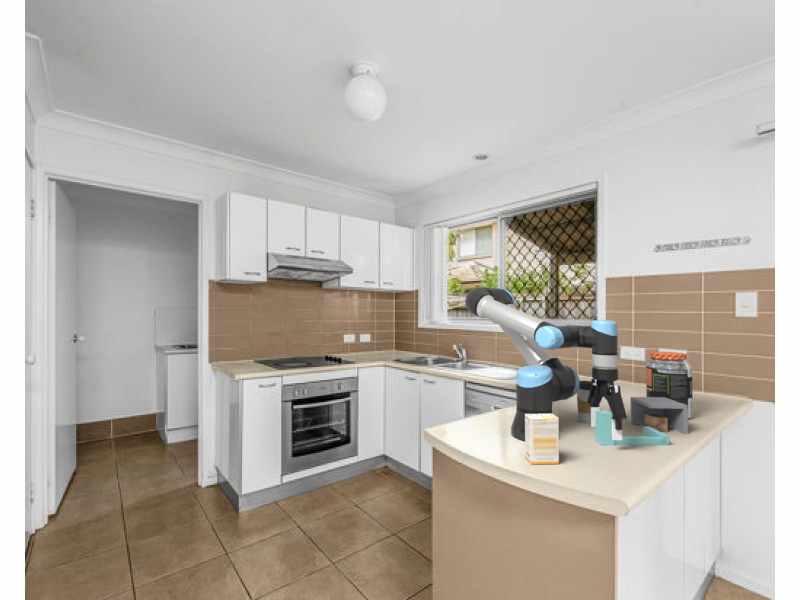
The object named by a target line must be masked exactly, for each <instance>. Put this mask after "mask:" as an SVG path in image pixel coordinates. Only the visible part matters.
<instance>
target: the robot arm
mask: <svg viewBox="0 0 800 600" xmlns="http://www.w3.org/2000/svg"><path fill="white" fill-rule="evenodd" d="M515 303H516V302H515V298H514V295H513V294H512V293H511V292H510V291H509V290H507V289H505V288H502V287H484V286H483V287H482V286H479V287H475V288H472V289H471V290H469V291H468V292H467V294H466V295H465V302H464V304H465V307H466V309H467V311H468V312H470V314H472V315H474V316H476V317H478V318H481V319H488V320H490V321H491V322H492V324H495V325H498V326H499V327H500V329H501V330H502V331H503V332H504V334H505V335H506V337H507V338H508V339H509V340H510V341H511V344H512V345H513V346H514V347H515V349H516V350H517V352H518V353H519V354H520V356H522V358H523V359H524V361H525V362H526V364H527V365H524V366H522V367H520V368H518V369H517V372H516V378H515V383H516V384H515V385H516V386H515V387H516V394H515V395H516V396H515V397H516V402H515V403H516V405H515V406H516V408H515V411H516V412H515V414H514V416H513V417H514V418H513V420H512V423H511V426H510V435H511V436H512V437H514V438H515V439H517V440H521V441H524V442H525V414H553V403H554V402H558V401H565V400H568V399H570V398H572V397H574V396H575V395H577V392H578V390H579V383H580V381H581V380H580V377H579V375H578V372H576V369H574V368H572V367H570V366H568V365H564V364H563V363H562V362H561V360H560V359H559V357H557V356H553V355H550V353H549V352H548V351H547V350H550V351H553V350H560V349H569V348H570V349H571V348H582V349H583V348H585V349H591V366H592V368H591V371H592V372H591V376H592V378H591V380H590V381H591V388H590V392H589V396H588V400H587V403H588V404H590V407H591V423H590V427H591V428H596V411H601V405H600V404H601V402H602V400H603V398H604V399H605V400H606V401H607V404H608V406H609V409H610V412H611V413H612V415H613V417H612V418H611V419H612V440H622V436H623V420H624V419H625V420H627V418H628V416H627V412H626V409H625V408H626V407H625V405H624V400H623V397H622V393H621V391H622V390H621V386H620V385H615V384H614V382H616V381H618V380H619V369H618V366H619V356H618V355H619V354H618V353H619V352H618V347H619V346H618V339H619V338H618V337H619V333H618V323H617V322H616V321H615V320H610V319H609V320H608V319H607V320H603V319H601V320H600V319H598V320H592V321H591V324H590V325H575V324H566V325H565V324H564V325H563V324H562V325H555V324H552V323H550V322H547V321H545V320H543V319H540V318H539V317H536V316H534V315H531V314H528V313H527V312H524V311H521V310H519V309H517V306H516V304H515ZM591 399H592V400H591Z"/></svg>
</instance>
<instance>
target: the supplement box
mask: <svg viewBox="0 0 800 600" xmlns="http://www.w3.org/2000/svg"><path fill="white" fill-rule="evenodd" d="M559 421H560V420H559V416H556V415H555V414H553V413H552V414H525V441H524V445H525V446H524V451H525V453H524V456H525V460H526V461H527V462H528V463H529V462H530V463H531V464H530V463H529V464H530V465H559V464H560V434H559V432H560V428H559V427H560V425H559V424H560V423H559Z"/></svg>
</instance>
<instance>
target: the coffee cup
mask: <svg viewBox="0 0 800 600" xmlns="http://www.w3.org/2000/svg"><path fill="white" fill-rule="evenodd" d="M590 388H591V380H580V383H579V390H578V392H577V393H576V402H577V405H576V406H577V414H578V415H577V416H578V419H579V421H580V422H582V423H586V424H591V407H590V404H588V403H587V400H588V396H589V392H590ZM591 400H592V399H591Z"/></svg>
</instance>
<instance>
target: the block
mask: <svg viewBox="0 0 800 600" xmlns="http://www.w3.org/2000/svg"><path fill="white" fill-rule="evenodd" d="M644 426H650V427H652V428H654V429H656V430H658V431H660V432H662V433H668V426H667V418H665V417H663V416H661V415H654V414H645V424H644Z"/></svg>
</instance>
